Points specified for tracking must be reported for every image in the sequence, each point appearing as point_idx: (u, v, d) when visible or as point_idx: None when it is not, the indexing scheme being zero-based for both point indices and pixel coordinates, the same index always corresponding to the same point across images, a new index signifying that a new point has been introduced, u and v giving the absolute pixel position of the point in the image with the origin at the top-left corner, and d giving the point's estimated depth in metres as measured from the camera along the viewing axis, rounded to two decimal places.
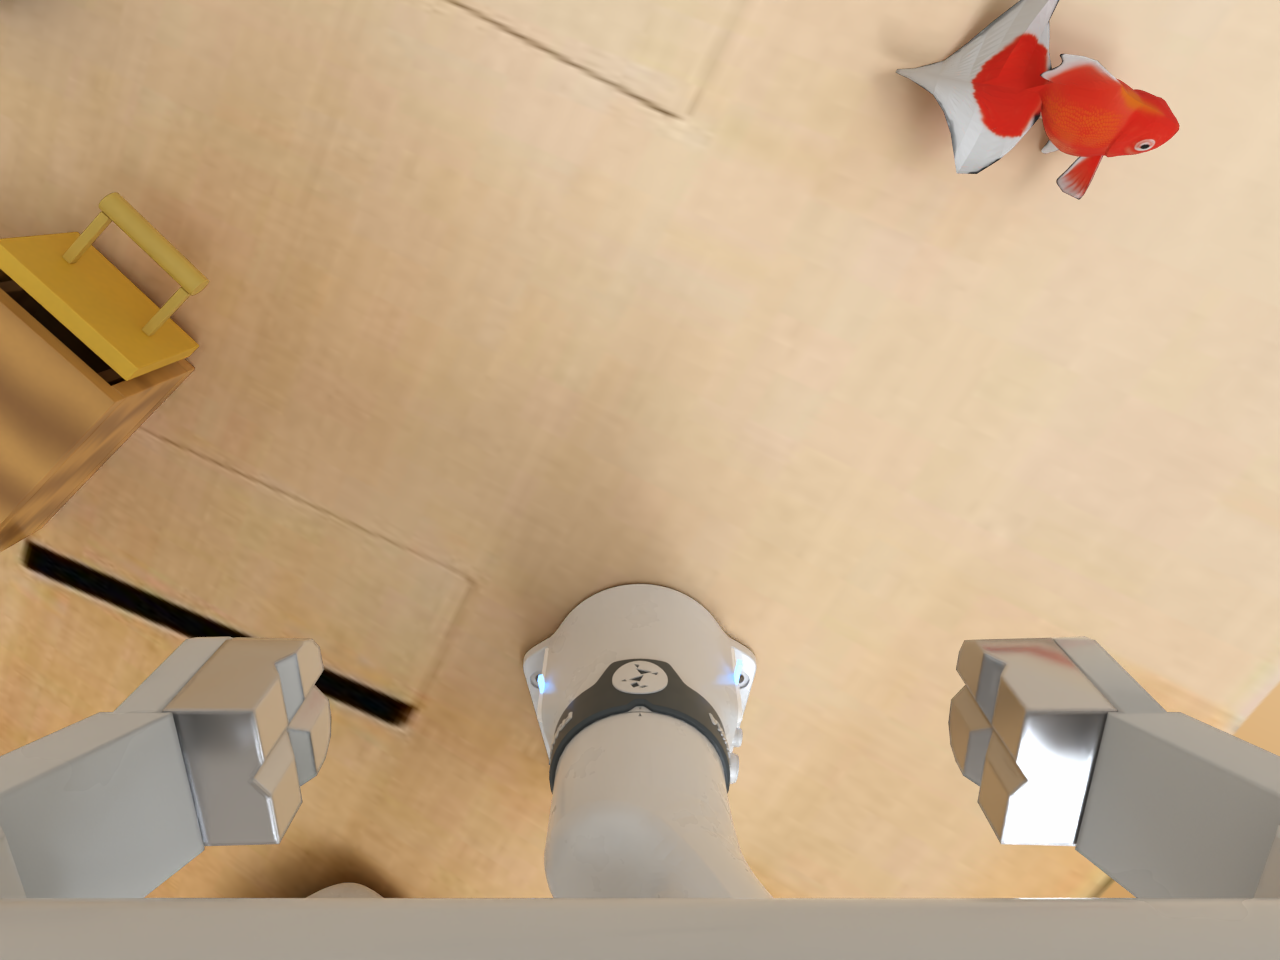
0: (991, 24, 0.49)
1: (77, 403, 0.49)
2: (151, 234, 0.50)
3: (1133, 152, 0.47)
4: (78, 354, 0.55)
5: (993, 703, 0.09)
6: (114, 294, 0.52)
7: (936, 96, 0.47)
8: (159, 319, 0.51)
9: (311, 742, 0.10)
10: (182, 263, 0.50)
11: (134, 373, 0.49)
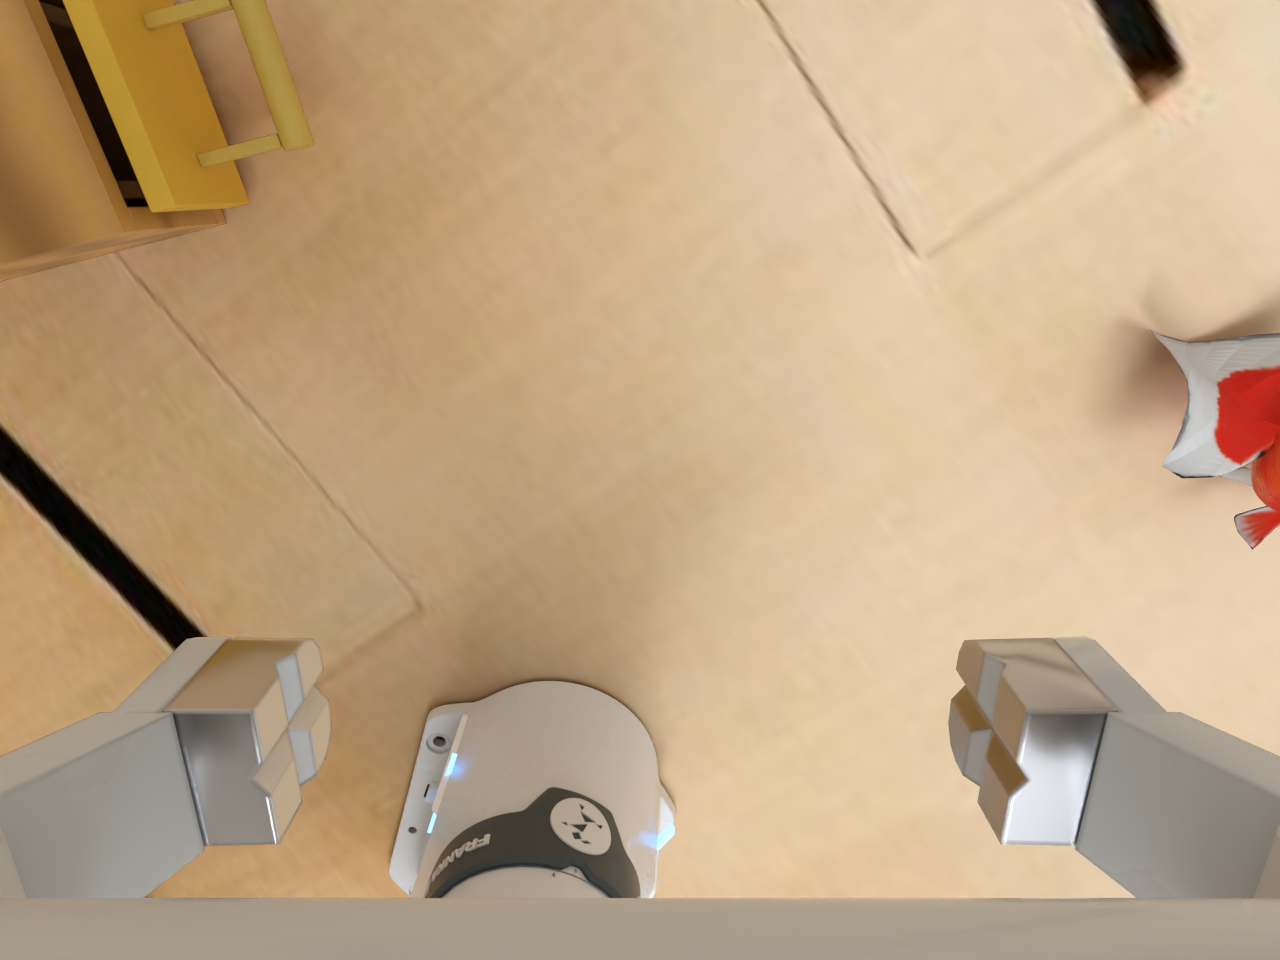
0: (1255, 336, 0.45)
1: (72, 207, 0.35)
2: (275, 54, 0.37)
3: None
4: None
5: (993, 703, 0.09)
6: (182, 94, 0.38)
7: (1189, 384, 0.42)
8: (227, 156, 0.38)
9: (311, 742, 0.10)
10: (294, 108, 0.38)
11: (167, 208, 0.36)
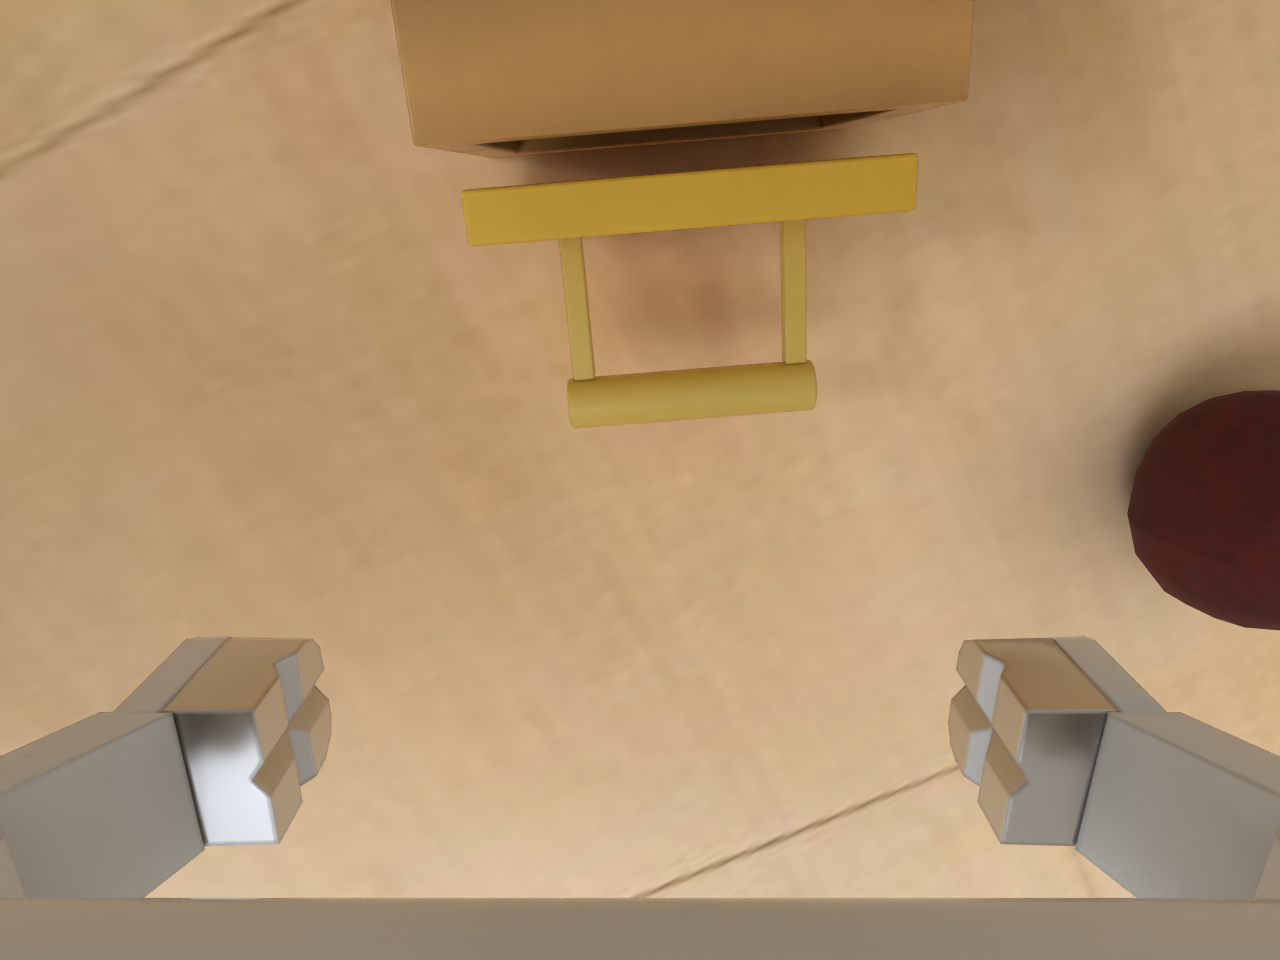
0: None
1: (471, 47, 0.16)
2: (706, 415, 0.23)
3: None
4: None
5: (993, 703, 0.09)
6: None
7: None
8: (569, 285, 0.22)
9: (311, 742, 0.10)
10: (625, 422, 0.23)
11: (466, 223, 0.18)
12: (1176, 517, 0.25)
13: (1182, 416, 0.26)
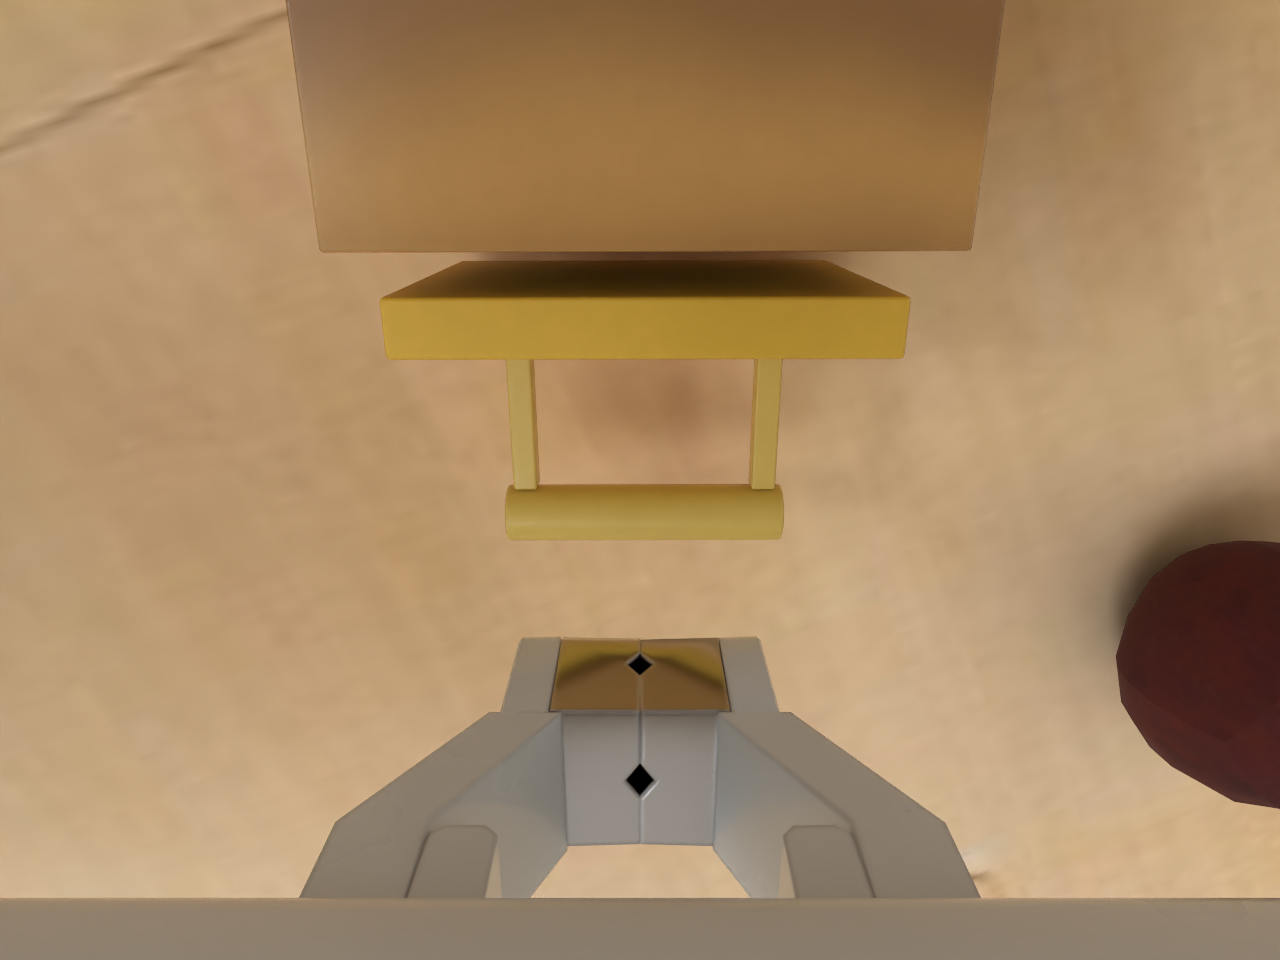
0: None
1: (392, 146, 0.13)
2: (659, 538, 0.21)
3: None
4: None
5: None
6: None
7: None
8: (514, 387, 0.19)
9: None
10: (568, 539, 0.21)
11: (384, 333, 0.16)
12: (1170, 679, 0.23)
13: (1183, 563, 0.24)
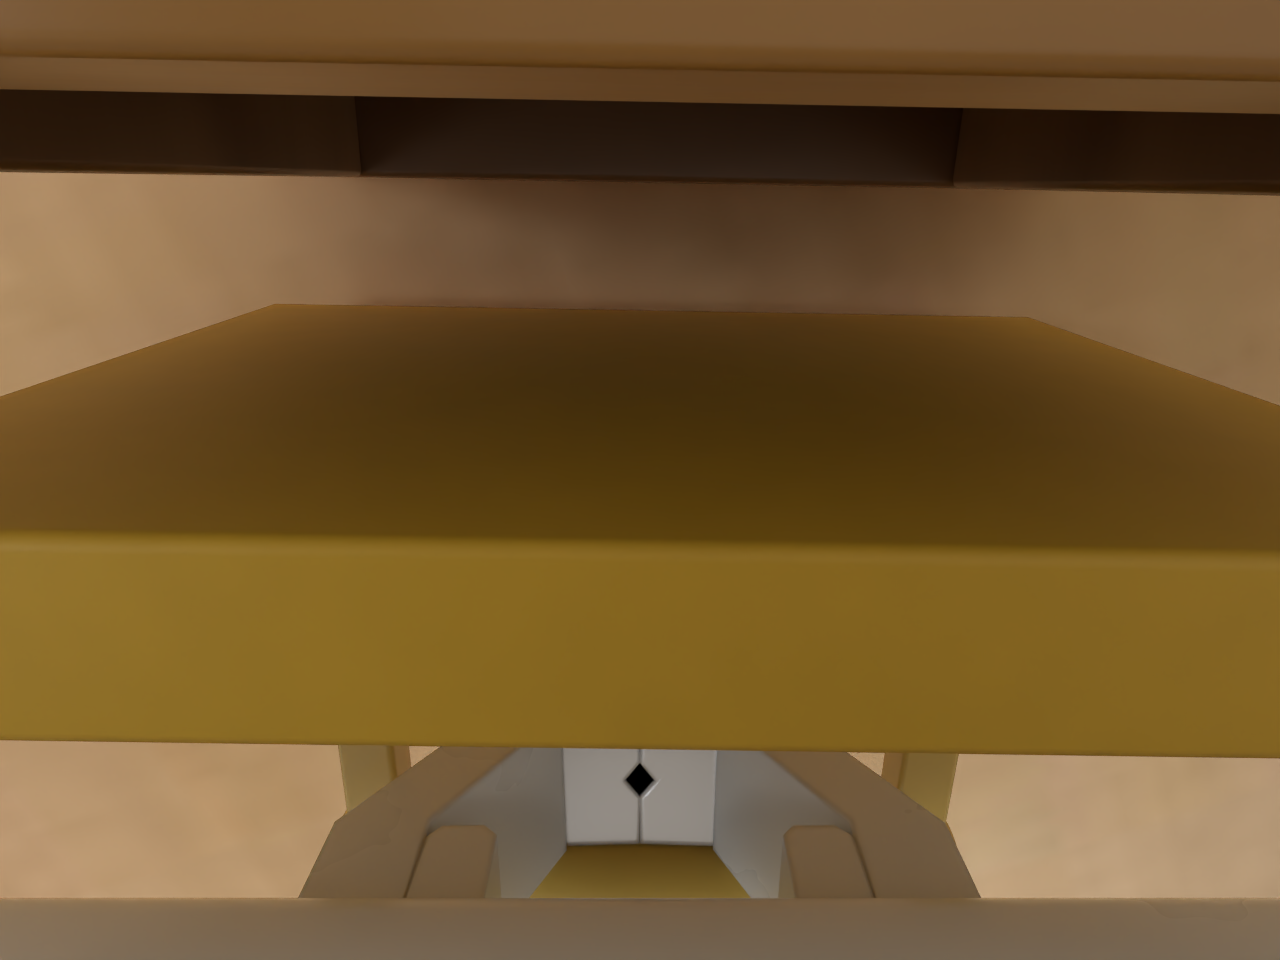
0: None
1: None
2: None
3: None
4: None
5: None
6: None
7: None
8: None
9: None
10: None
11: None
12: None
13: None
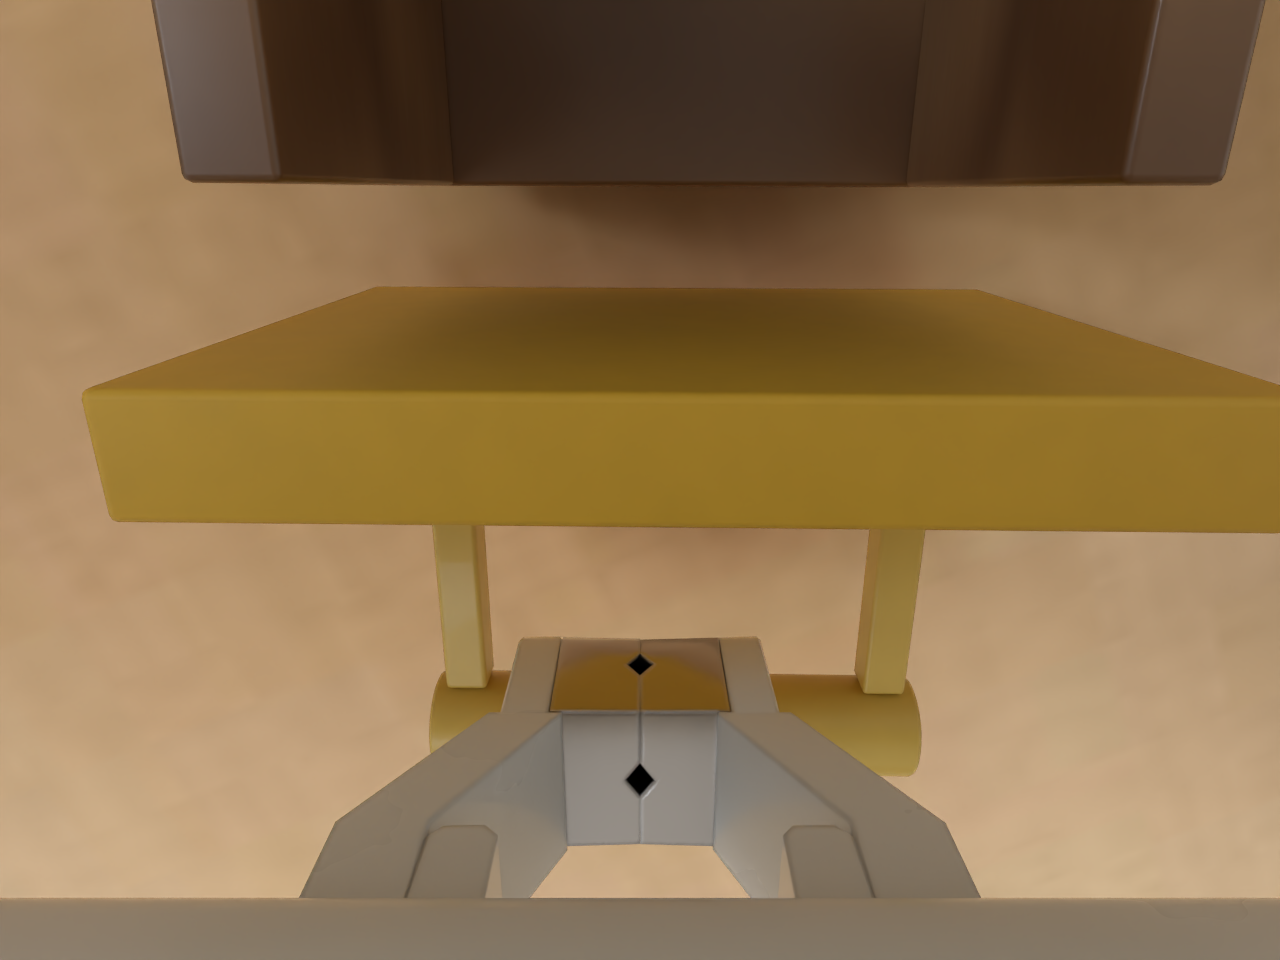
0: None
1: None
2: None
3: None
4: None
5: None
6: None
7: None
8: None
9: None
10: None
11: (106, 466, 0.07)
12: None
13: None
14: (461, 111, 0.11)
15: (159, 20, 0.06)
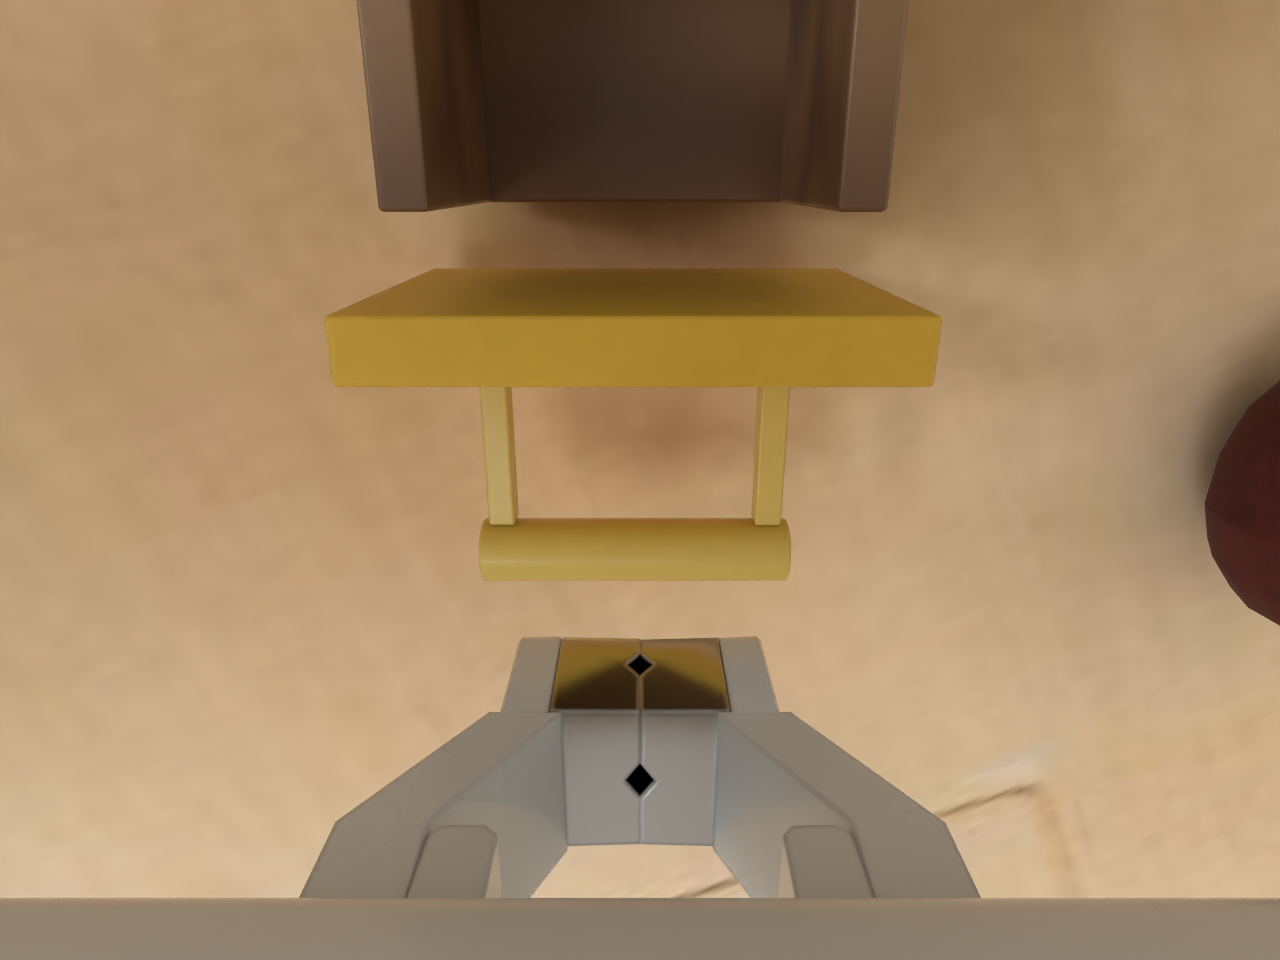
0: None
1: None
2: (651, 578, 0.19)
3: None
4: (623, 40, 0.17)
5: None
6: None
7: None
8: (488, 412, 0.17)
9: None
10: (550, 580, 0.19)
11: (331, 357, 0.13)
12: None
13: None
14: (495, 155, 0.18)
15: (374, 135, 0.12)
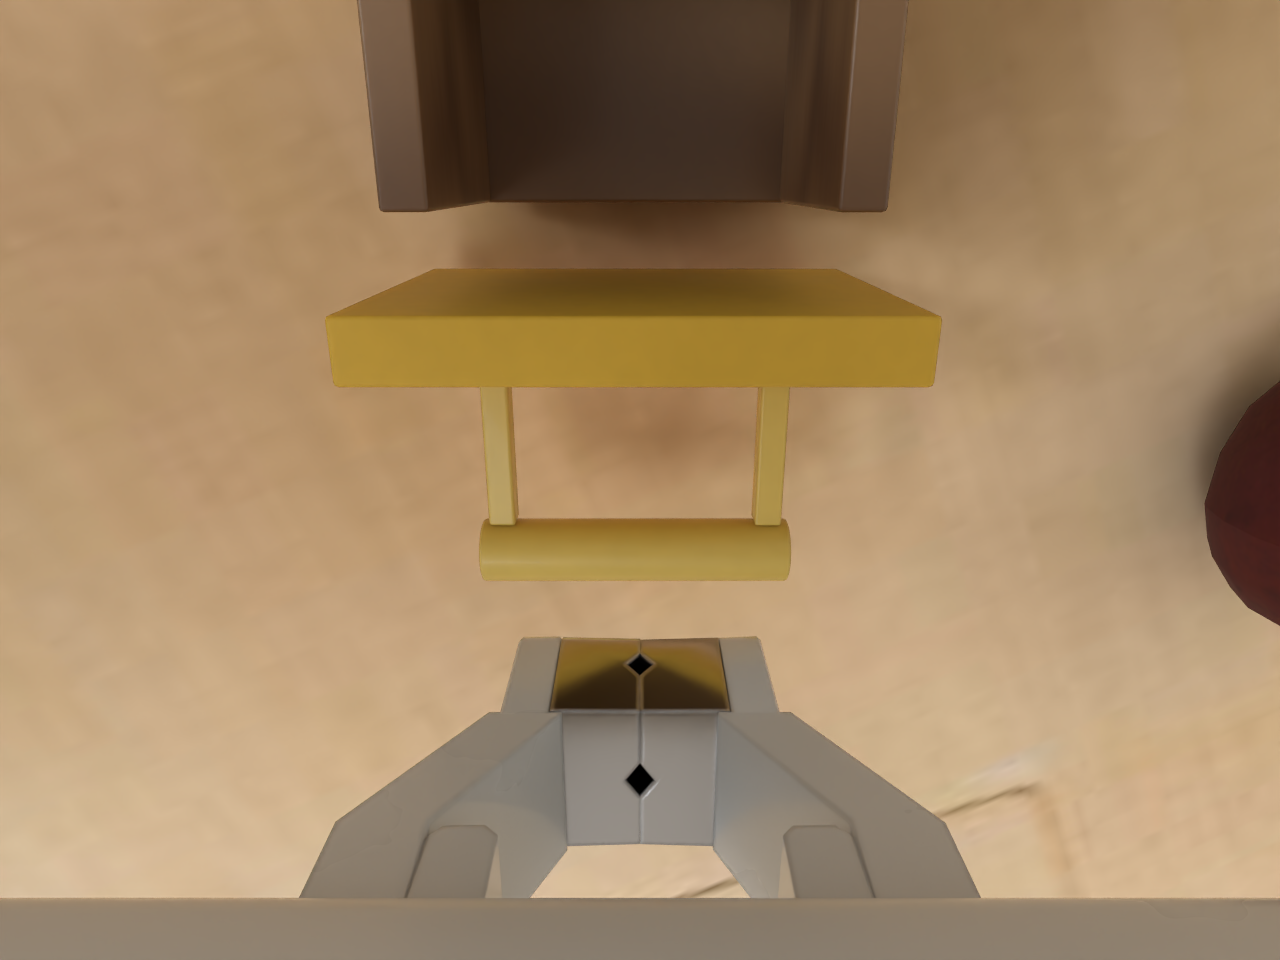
0: None
1: None
2: (651, 579, 0.19)
3: None
4: (623, 40, 0.17)
5: None
6: None
7: None
8: (488, 413, 0.17)
9: None
10: (550, 580, 0.19)
11: (332, 357, 0.13)
12: None
13: None
14: (495, 155, 0.18)
15: (375, 136, 0.12)
